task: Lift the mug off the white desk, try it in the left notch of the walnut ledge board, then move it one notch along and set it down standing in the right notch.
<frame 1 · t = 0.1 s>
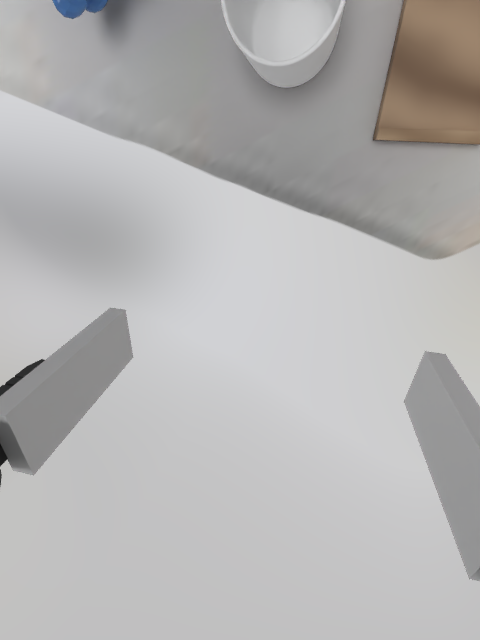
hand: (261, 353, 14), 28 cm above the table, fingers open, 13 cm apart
mug: (299, 11, 29), on the table
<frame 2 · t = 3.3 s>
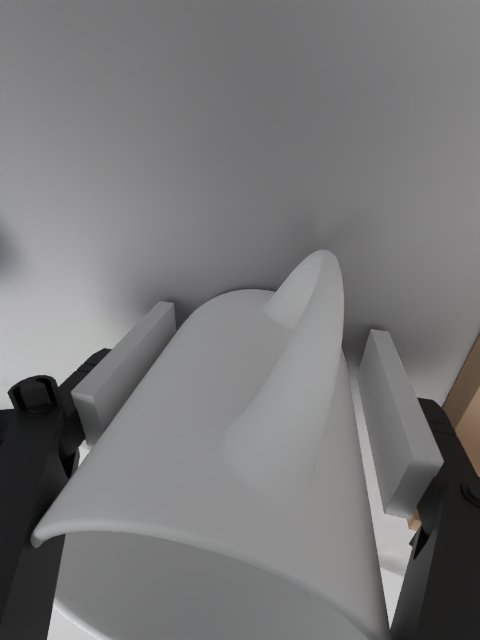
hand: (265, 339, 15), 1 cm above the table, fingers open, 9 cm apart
mug: (271, 331, 15), on the table, touching gripper
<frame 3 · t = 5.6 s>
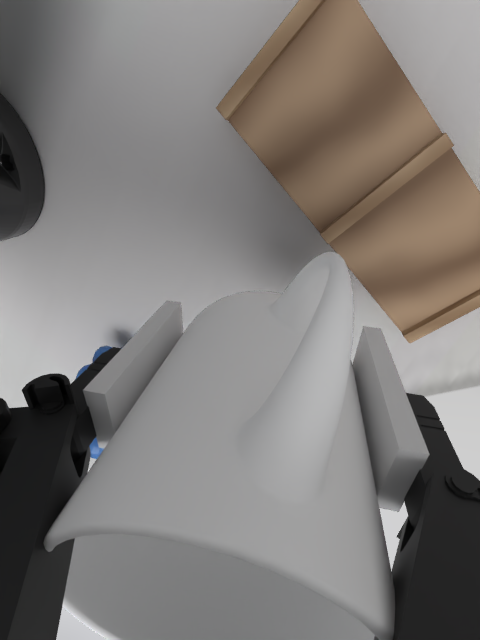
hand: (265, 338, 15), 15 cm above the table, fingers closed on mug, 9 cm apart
mug: (276, 333, 16), point 15 cm above the table, touching gripper
grapes: (149, 365, 39), on the table
ledge board: (375, 190, 24), on the table
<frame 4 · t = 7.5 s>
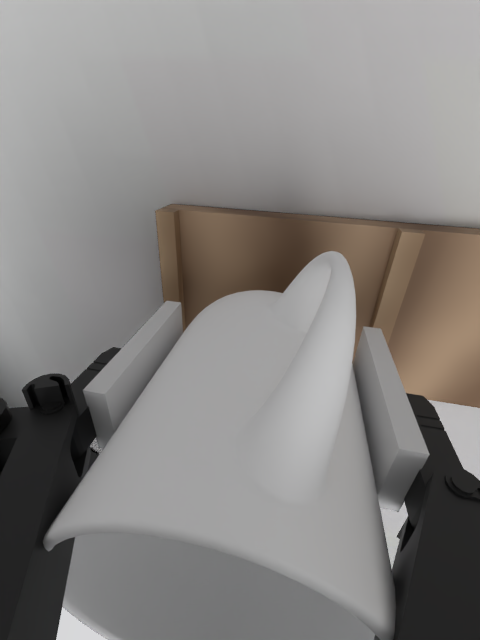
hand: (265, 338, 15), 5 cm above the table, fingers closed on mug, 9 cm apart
mug: (277, 332, 16), point 4 cm above the table, touching gripper
ledge board: (376, 308, 18), on the table
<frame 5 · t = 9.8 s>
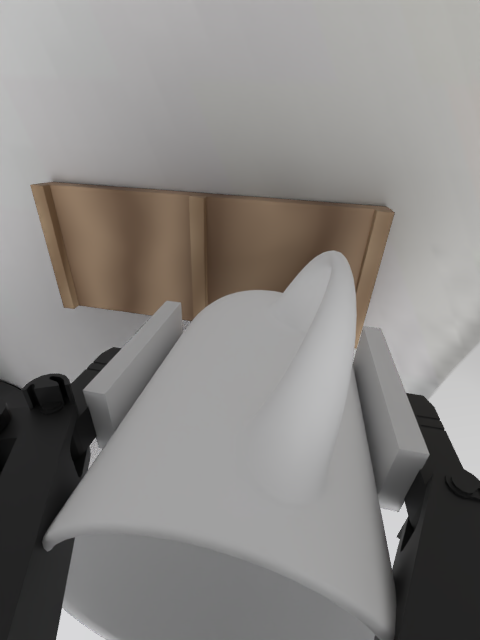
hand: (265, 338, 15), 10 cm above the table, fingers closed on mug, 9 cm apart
mug: (277, 332, 15), point 10 cm above the table, touching gripper
ledge board: (206, 259, 25), on the table
when the fingers open (4 cm above the table, at t = 11.7 s): mug drops 2 cm, resting on ledge board.
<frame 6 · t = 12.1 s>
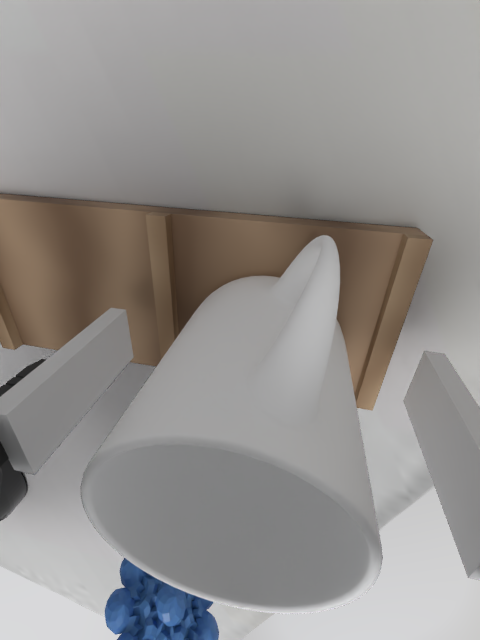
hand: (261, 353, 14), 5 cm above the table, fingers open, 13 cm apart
mug: (277, 315, 17), point 1 cm above the table, touching ledge board
grapes: (189, 538, 35), on the table
ledge board: (178, 291, 19), on the table
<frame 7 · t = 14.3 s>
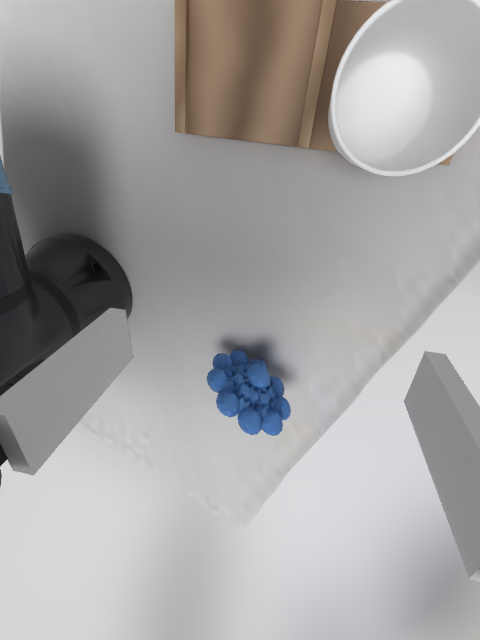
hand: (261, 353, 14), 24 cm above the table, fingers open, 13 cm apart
mug: (392, 88, 25), point 1 cm above the table, touching ledge board
grapes: (261, 356, 43), on the table
ledge board: (315, 83, 27), on the table
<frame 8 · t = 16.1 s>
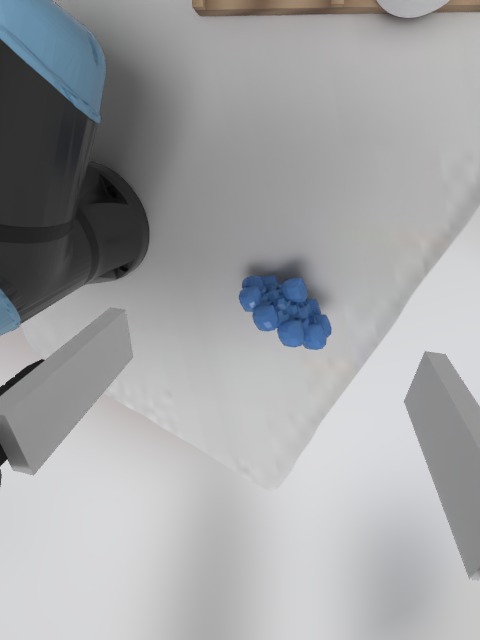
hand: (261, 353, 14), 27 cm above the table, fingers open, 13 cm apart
grapes: (291, 282, 40), on the table
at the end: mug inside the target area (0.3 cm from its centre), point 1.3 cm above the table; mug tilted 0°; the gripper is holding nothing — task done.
